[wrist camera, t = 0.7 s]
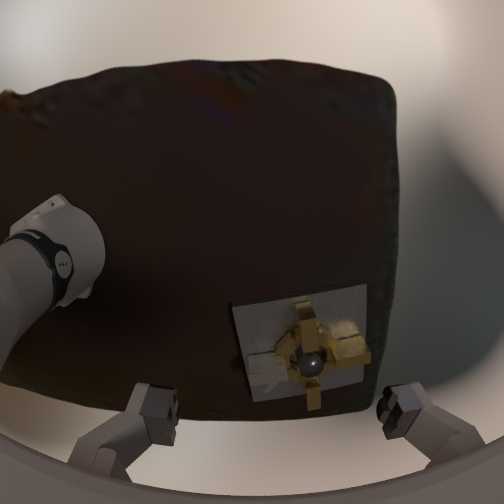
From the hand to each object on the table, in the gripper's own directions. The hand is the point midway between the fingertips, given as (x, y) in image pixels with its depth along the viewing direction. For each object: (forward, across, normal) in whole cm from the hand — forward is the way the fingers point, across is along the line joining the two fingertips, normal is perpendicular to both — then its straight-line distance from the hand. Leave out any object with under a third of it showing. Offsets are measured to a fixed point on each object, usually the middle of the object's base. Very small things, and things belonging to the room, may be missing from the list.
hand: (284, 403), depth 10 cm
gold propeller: (+33, -10, +23) cm, 42 cm away
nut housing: (+35, -10, +23) cm, 44 cm away
